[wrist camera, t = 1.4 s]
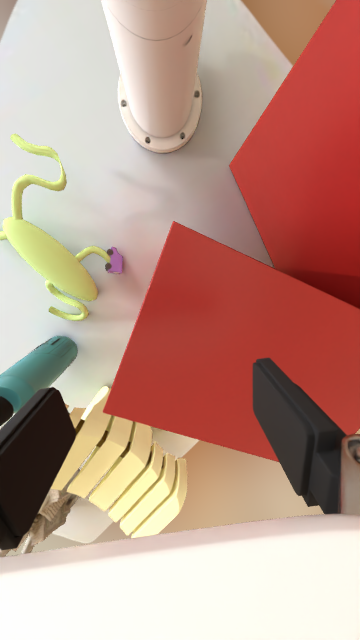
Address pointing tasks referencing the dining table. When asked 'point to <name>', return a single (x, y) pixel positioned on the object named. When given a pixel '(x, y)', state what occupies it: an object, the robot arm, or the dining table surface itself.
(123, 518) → the slatted curved stool
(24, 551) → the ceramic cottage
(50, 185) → the figurine
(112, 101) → the dining table surface
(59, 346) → the beverage bottle
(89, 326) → the dining table surface
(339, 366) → the box
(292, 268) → the fridge door
